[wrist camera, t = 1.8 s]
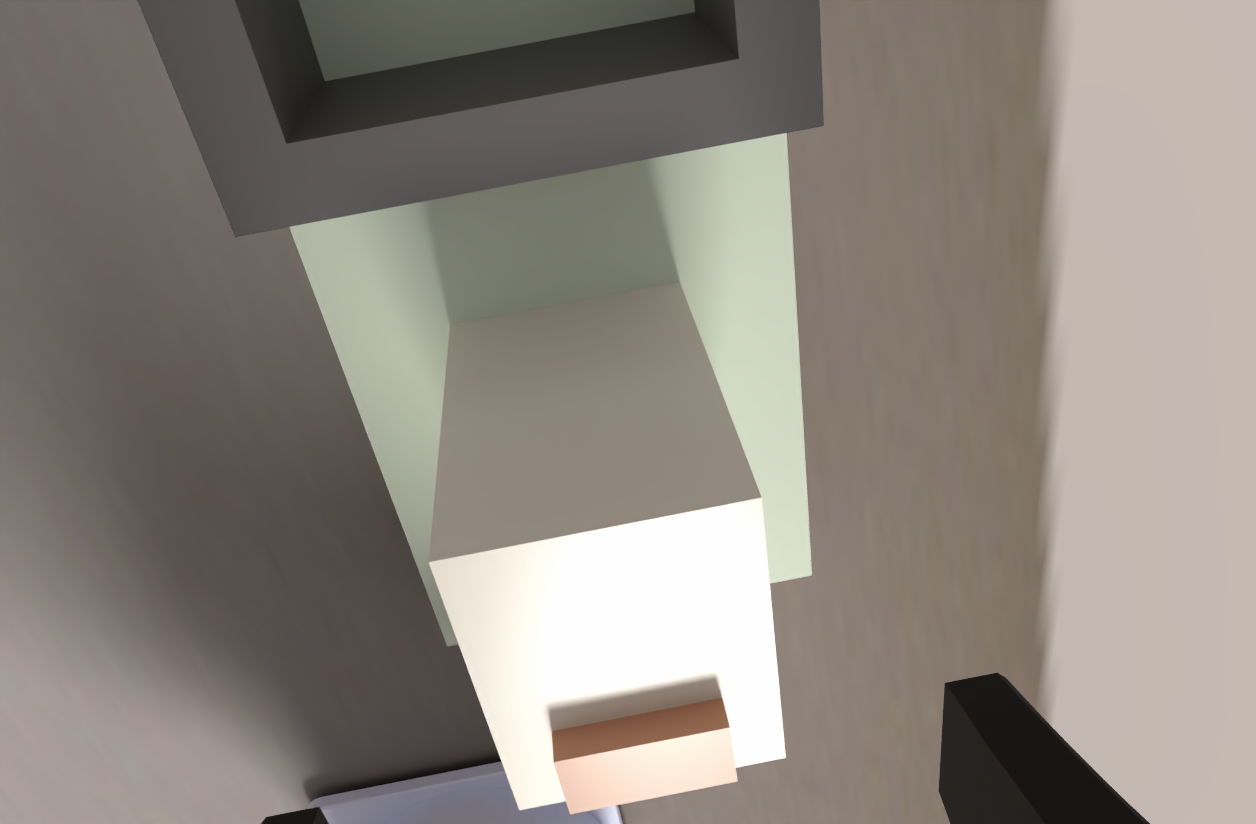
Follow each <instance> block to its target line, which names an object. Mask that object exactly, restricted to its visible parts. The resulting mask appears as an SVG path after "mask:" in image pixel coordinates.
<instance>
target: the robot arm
mask: <svg viewBox="0 0 1256 824" xmlns="http://www.w3.org/2000/svg"><path fill="white" fill-rule="evenodd" d="M939 793H940V796H941V798H942V801H943V804H944V807H945V810H946V812H947V815H948V818H949V821H950V823H951V824H1150V823H1149V822H1148V821H1146V820H1145V819H1144V818H1143V817H1142V816H1141V815H1140V814H1139V813H1138V812H1137V811H1136V810H1135V809H1134V808H1133V807H1132V806H1130V805H1129V804H1128V803H1127V802H1126V801H1125V800H1124V799H1123V798H1122V797H1121V796H1120V795H1119V794H1118V793H1117V792H1116V791H1115V790H1114V789H1113V788H1112V787H1111V786H1110V785H1109V784H1108V783H1107V782H1106V781H1105V780H1103V778H1102V777H1101V776H1099V774H1098V773H1096V771H1095V770H1094V769H1093V768H1092V767H1091V766H1090V765H1089V764H1087V763H1086V761H1085V760H1084V759H1083V758H1082V757H1081V756H1080V755H1079V754H1078V753H1077V752H1076V751H1075V750H1074V749H1073V748H1072V747H1071V746H1070V745H1069V744H1068V743H1067V742H1066V741H1065V740H1064V739H1063V738H1062V737H1061V736H1060V735H1059V734H1058V733H1057V732H1056V731H1055V730H1054V729H1053V728H1052V727H1051V726H1050V725H1049V724H1048V722H1047V721H1046V720H1045V719H1044V718H1043V717H1042V716H1041V715H1040V714H1039V713H1038V712H1037V711H1036V710H1035V709H1034V708H1033V707H1032V706H1031V704H1030V703H1029V702H1028V701H1027V700H1026V699H1025V698H1024V697H1023V696H1022V695H1021V694H1020V693H1019V692H1018V691H1017V689H1016V688H1015V687H1014V686H1013V685H1012V684H1011V683H1010V682H1009V681H1008V680H1007V679H1006V678H1005V677H1004V676H1002V675H1000V674H999V673H994V674H988V675H983V676H978V677H973V678H968V679H963V680H958V681H953V682H948V683H945V690H944V708H943V725H942V743H941V761H940V779H939ZM261 824H623V821H622V817H621V813H620V809H619V806H618V805H616V806H611V807H606V808H601V809H596V810H590V811H585V812H580V813H575V814H570V813H569V810H568V807H567V803H566V801H564V802H559V803H554V804H549V805H544V806H539V807H534V808H529V809H524V810H519V808H518V805H517V802H516V800H515V797H514V794H513V791H512V789H511V786H510V783H509V781H508V778H507V775H506V772H505V770H504V767H503V764H502V761H501V762H495V763H490V764H485V765H480V766H475V767H470V768H465V769H460V770H455V771H450V772H445V773H440V774H435V775H430V776H425V777H419V778H414V779H409V780H404V781H399V782H394V783H389V784H384V785H379V786H374V787H369V788H364V789H359V790H354V791H349V792H344V793H338V794H333V795H328V796H323V797H320V798H317V799H314V800H313V801H312V802H311V803H309V806H308V808H307V809H305V810H300V811H295V812H290V813H285V814H280V815H275V816H270V817H266V818H265V819H264V821H263V822H262V823H261Z"/></svg>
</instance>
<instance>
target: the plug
mask: <svg viewBox="0 0 1256 824" xmlns="http://www.w3.org/2000/svg"><path fill="white" fill-rule="evenodd" d="M429 565H430V568H431V570H432V573H433V576H434V578H435V581H436V584H437V587H438V589H439V592H440V595H441V598H442V600H443V603H444V606H445V608H446V611H447V614H448V617H449V619H450V622H451V625H452V628H453V630H454V633H455V636H456V639H457V641H458V644H459V647H460V649H461V652H462V655H463V658H464V660H465V663H466V666H467V669H468V671H469V674H470V677H471V679H472V682H473V685H474V688H475V690H476V693H477V696H478V699H479V701H480V704H481V707H482V710H483V712H484V715H485V718H486V720H487V723H488V726H489V729H490V731H491V734H492V737H493V740H494V742H495V745H496V748H497V751H498V753H499V756H500V759H501V761H502V764H503V767H504V770H505V772H506V775H507V778H508V781H509V783H510V786H511V789H512V791H513V794H514V797H515V800H516V802H517V805H518V808H519V810H524V809H529V808H534V807H539V806H544V805H549V804H554V803H559V802H564V801H566V803H567V807H568V810H569V813H570V814H575V813H580V812H585V811H590V810H596V809H601V808H606V807H611V806H616V805H621V804H626V803H631V802H636V801H641V800H646V799H651V798H656V797H661V796H666V795H671V794H676V793H681V792H686V791H691V790H696V789H701V788H707V787H712V786H717V785H722V784H727V783H732V782H737V774H736V767H741V766H746V765H751V764H756V763H761V762H766V761H771V760H776V759H782V758H786V756H785V745H784V734H783V724H782V713H781V702H780V691H779V680H778V669H777V658H776V647H775V636H774V626H773V615H772V604H771V593H770V582H769V571H768V560H767V549H766V539H765V528H764V517H763V506H762V497H761V494H760V492H759V489H758V487H757V484H756V481H755V479H754V476H753V473H752V471H751V468H750V465H749V463H748V460H747V458H746V455H745V452H744V450H743V447H742V444H741V442H740V439H739V437H738V434H737V431H736V429H735V426H734V423H733V421H732V418H731V415H730V413H729V410H728V408H727V405H726V402H725V400H724V397H723V394H722V392H721V389H720V386H719V384H718V381H717V379H716V376H715V373H714V371H713V368H712V365H711V363H710V360H709V358H708V355H707V352H706V350H705V347H704V344H703V342H702V339H701V336H700V334H699V331H698V329H697V326H696V323H695V321H694V318H693V315H692V313H691V310H690V308H689V305H688V302H687V300H686V297H685V294H684V292H683V289H682V286H681V284H680V282H675V283H669V284H664V285H659V286H654V287H648V288H643V289H638V290H633V291H627V292H622V293H617V294H612V295H606V296H601V297H596V298H591V299H585V300H580V301H575V302H570V303H564V304H559V305H554V306H549V307H543V308H538V309H533V310H528V311H522V312H517V313H512V314H507V315H501V316H496V317H491V318H486V319H480V320H475V321H470V322H465V323H459V324H454V325H450V331H449V342H448V353H447V364H446V375H445V386H444V397H443V408H442V419H441V431H440V442H439V453H438V464H437V475H436V486H435V497H434V508H433V519H432V530H431V541H430V552H429Z"/></svg>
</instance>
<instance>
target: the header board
mask: <svg viewBox="0 0 1256 824" xmlns="http://www.w3.org/2000/svg"><path fill="white" fill-rule="evenodd" d="M138 3H139V5H140V7H141V10H142V12H143V15H144V17H145V20H146V22H147V24H148V27H149V29H150V32H151V34H152V36H153V39H154V41H155V44H156V46H157V49H158V51H159V53H160V56H161V58H162V61H163V63H164V65H165V68H166V70H167V73H168V75H169V78H170V80H171V82H172V85H173V87H174V90H175V92H176V94H177V97H178V99H179V102H180V104H181V107H182V109H183V111H184V114H185V116H186V119H187V121H188V123H189V126H190V128H191V131H192V133H193V136H194V138H195V140H196V143H197V145H198V148H199V150H200V152H201V155H202V157H203V160H204V162H205V165H206V167H207V169H208V172H209V174H210V177H211V179H212V181H213V184H214V186H215V189H216V191H217V194H218V196H219V198H220V201H221V203H222V206H223V208H224V210H225V213H226V215H227V218H228V220H229V222H230V225H231V227H232V230H233V232H234V235H235V237H238V236H243V235H249V234H254V233H259V232H265V231H270V230H275V229H280V228H286V227H289V228H290V231H291V233H292V236H293V238H294V241H295V244H296V246H297V249H298V252H299V254H300V257H301V260H302V262H303V265H304V268H305V270H306V273H307V276H308V278H309V281H310V284H311V286H312V289H313V292H314V294H315V297H316V299H317V302H318V305H319V307H320V310H321V313H322V315H323V318H324V321H325V323H326V326H327V329H328V331H329V334H330V337H331V339H332V342H333V345H334V347H335V350H336V353H337V355H338V358H339V360H340V363H341V366H342V368H343V371H344V374H345V376H346V379H347V382H348V384H349V387H350V390H351V392H352V395H353V398H354V400H355V403H356V406H357V408H358V411H359V413H360V416H361V419H362V421H363V424H364V427H365V429H366V432H367V435H368V437H369V440H370V443H371V445H372V448H373V451H374V453H375V456H376V459H377V461H378V464H379V467H380V469H381V472H382V474H383V477H384V480H385V482H386V485H387V488H388V490H389V493H390V496H391V498H392V501H393V504H394V506H395V509H396V512H397V514H398V517H399V520H400V522H401V525H402V528H403V530H404V533H405V535H406V538H407V541H408V543H409V546H410V549H411V551H412V554H413V557H414V559H415V562H416V565H417V567H418V570H419V573H420V575H421V578H422V581H423V583H424V586H425V588H426V591H427V594H428V596H429V599H430V602H431V604H432V607H433V610H434V612H435V615H436V618H437V620H438V623H439V626H440V628H441V631H442V634H443V636H444V639H445V642H446V644H447V647H448V646H453V645H458V641H457V639H456V636H455V633H454V630H453V628H452V625H451V622H450V619H449V617H448V614H447V611H446V608H445V606H444V603H443V600H442V598H441V595H440V592H439V589H438V587H437V584H436V581H435V578H434V576H433V573H432V570H431V568H430V565H429V552H430V541H431V530H432V519H433V508H434V497H435V486H436V475H437V464H438V453H439V442H440V431H441V419H442V408H443V397H444V386H445V375H446V364H447V353H448V342H449V331H450V325H454V324H459V323H465V322H470V321H475V320H480V319H486V318H491V317H496V316H501V315H507V314H512V313H517V312H522V311H528V310H533V309H538V308H543V307H549V306H554V305H559V304H564V303H570V302H575V301H580V300H585V299H591V298H596V297H601V296H606V295H612V294H617V293H622V292H627V291H633V290H638V289H643V288H648V287H654V286H659V285H664V284H669V283H675V282H680V284H681V286H682V289H683V292H684V294H685V297H686V300H687V302H688V305H689V308H690V310H691V313H692V315H693V318H694V321H695V323H696V326H697V329H698V331H699V334H700V336H701V339H702V342H703V344H704V347H705V350H706V352H707V355H708V358H709V360H710V363H711V365H712V368H713V371H714V373H715V376H716V379H717V381H718V384H719V386H720V389H721V392H722V394H723V397H724V400H725V402H726V405H727V408H728V410H729V413H730V415H731V418H732V421H733V423H734V426H735V429H736V431H737V434H738V437H739V439H740V442H741V444H742V447H743V450H744V452H745V455H746V458H747V460H748V463H749V465H750V468H751V471H752V473H753V476H754V479H755V481H756V484H757V487H758V489H759V492H760V494H761V497H762V506H763V517H764V528H765V539H766V549H767V560H768V571H769V582H770V583H775V582H780V581H785V580H790V579H795V578H800V577H806V576H811V575H812V569H811V552H810V534H809V517H808V499H807V482H806V464H805V447H804V429H803V412H802V394H801V377H800V359H799V342H798V324H797V307H796V290H795V272H794V255H793V237H792V220H791V202H790V185H789V167H788V150H787V133H789V132H794V131H799V130H805V129H810V128H815V127H821V126H824V123H823V94H822V65H821V37H820V8H819V0H138Z"/></svg>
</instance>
